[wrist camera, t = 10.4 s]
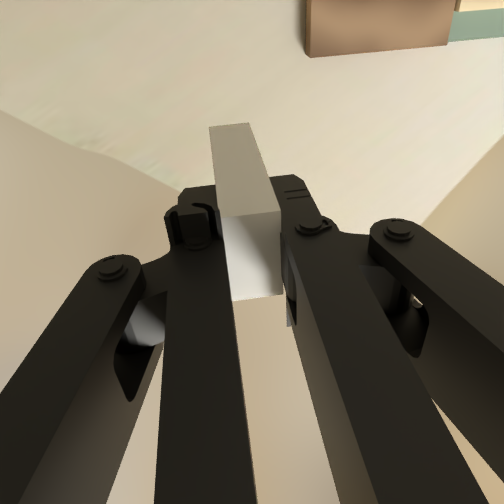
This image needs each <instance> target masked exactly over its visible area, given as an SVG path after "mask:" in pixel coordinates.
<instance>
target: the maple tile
mask: <svg viewBox="0 0 504 504" xmlns="http://www.w3.org/2000/svg"><path fill="white" fill-rule="evenodd" d="M498 8H504V0H456V3H455V8H454V11H457V12H463V11H475V10H486V9H498Z"/></svg>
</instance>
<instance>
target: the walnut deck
mask: <svg viewBox="0 0 504 504" xmlns="http://www.w3.org/2000/svg"><path fill="white" fill-rule="evenodd" d="M455 3H456V0H306V55H307V56H308V57H310V58H315V57H326V56H337V55H347V54H358V53H369V52H379V51H390V50H401V49H411V48H422V47H433V46H443V45H447V43H448V38H449V33H450V28H451V23H452V18H453V13H454V8H455Z"/></svg>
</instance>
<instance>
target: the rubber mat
mask: <svg viewBox="0 0 504 504" xmlns="http://www.w3.org/2000/svg"><path fill="white" fill-rule="evenodd" d="M496 37H504V8H498V9H486V10H475V11H463V12H457V11H454V13H453V18H452V23H451V28H450V33H449V38H448V42H453V41H464V40H474V39H485V38H496Z"/></svg>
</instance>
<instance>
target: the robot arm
mask: <svg viewBox="0 0 504 504" xmlns="http://www.w3.org/2000/svg"><path fill="white" fill-rule="evenodd" d="M209 132H210V141H211V150H212V159H213V167H214V176H215V185H209V186H200V187H192V188H185V189H184V190H183V191H182V193H181V194H180V195H179V196H178V205H175V206H173V207H172V208H171V209H169V210H168V211H167V212H166V214H165V216H164V220H165V225H166V229H167V233H168V238H169V242H170V251H169V252H168V253H167V254H166V255H164V256H162V257H161V258H159V259H156V260H154V261H151V262H148V263H146V264H142V265H141V264H140V262H139V260H138V259H137V258H135V257H133V256H131V255H124V254H122V255H112V256H109V257H106V258H103V259H101V260H99V261H97V262H95V263H94V264H92V265H91V266H90V267H89V268H88V269H87V270H86V271H85V273H84V274H83V276H82V277H81V278H80V280H79V281H78V283H77V284H76V286H75V287H74V289H73V290H72V291H71V293H70V294H69V296H68V297H67V298H66V300H65V301H64V303H63V304H62V306H61V307H60V308H59V310H58V311H57V313H56V314H55V316H54V317H53V319H52V320H51V322H50V323H49V324H48V326H47V327H46V329H45V330H44V331H43V333H42V334H41V336H40V337H39V339H38V340H37V342H36V343H35V344H34V346H33V348H32V349H31V350H30V352H29V353H28V354H27V356H26V357H25V359H24V360H23V362H22V363H21V364H20V366H19V367H18V369H17V370H16V372H15V373H14V375H13V376H12V377H11V379H10V380H9V382H8V383H7V385H6V386H5V388H4V389H3V390H2V392H1V393H0V504H106V502H107V500H108V497H109V494H110V491H111V488H112V486H113V483H114V480H115V478H116V475H117V472H118V469H119V467H120V464H121V461H122V458H123V456H124V453H125V450H126V448H127V445H128V442H129V439H130V437H131V434H132V431H133V428H134V426H135V423H136V420H137V418H138V415H139V412H140V409H141V407H142V404H143V401H144V399H145V396H146V393H147V390H148V388H149V385H150V382H151V380H152V377H153V374H154V371H155V369H156V366H157V363H158V360H159V358H160V355H161V352H162V350H163V344H164V354H163V369H162V385H161V400H160V417H159V431H158V448H157V464H156V478H155V494H154V504H258V501H257V493H256V485H255V478H254V470H253V461H252V454H251V447H250V438H249V431H248V422H247V414H246V406H245V399H244V391H243V383H242V375H241V367H240V359H239V351H238V344H237V336H236V328H235V320H234V313H233V305H232V301H237V300H244V299H251V298H259V297H266V296H273V295H280V294H283V283H284V287H285V290H286V308H287V327H289V326H292V329H293V333H294V336H295V340H296V344H297V347H298V351H299V355H300V358H301V362H302V366H303V369H304V373H305V377H306V380H307V384H308V387H309V391H310V395H311V399H312V402H313V406H314V409H315V413H316V417H317V420H318V424H319V428H320V431H321V435H322V438H323V442H324V446H325V450H326V453H327V457H328V460H329V464H330V468H331V471H332V475H333V478H334V482H335V486H336V490H337V493H338V497H339V501H340V504H489V503H488V501H487V499H486V497H485V496H484V494H483V492H482V490H481V488H480V486H479V485H478V483H477V481H476V479H475V477H474V475H473V474H472V472H471V470H470V468H469V466H468V464H467V463H466V461H465V459H464V457H463V455H462V454H461V452H460V450H459V448H458V446H457V444H456V443H455V441H454V439H453V437H452V435H451V434H450V432H449V430H448V428H447V426H446V424H445V423H444V421H443V419H442V417H441V415H440V414H439V412H438V410H437V408H436V406H435V404H434V402H435V403H436V404H437V405H438V406H439V408H440V409H441V410H442V411H443V412H444V413H445V415H446V416H447V417H448V418H449V419H450V420H451V422H452V423H453V424H454V425H455V426H456V427H457V429H458V430H459V431H460V432H461V433H462V434H463V436H464V437H465V438H466V439H467V440H468V441H469V443H470V444H471V445H472V446H473V447H474V449H475V450H476V451H477V452H478V453H479V454H480V456H481V457H482V458H483V459H484V460H485V461H486V463H487V464H488V465H489V466H490V467H491V468H492V470H493V471H494V472H495V473H496V474H497V475H498V477H499V478H500V479H501V480H502V481H503V483H504V286H503V285H502V284H501V283H499V282H498V281H496V280H495V279H494V278H492V277H491V276H489V275H488V274H487V273H485V272H484V271H483V270H481V269H479V268H478V267H477V266H475V265H474V264H473V263H471V262H470V261H469V260H467V259H466V258H464V257H463V256H462V255H460V254H459V253H458V252H456V251H455V250H453V249H452V248H451V247H449V246H448V245H446V244H445V243H444V242H442V241H441V240H439V239H438V238H437V237H435V236H434V235H433V234H431V233H430V232H428V231H427V230H426V229H424V228H423V227H421V226H420V225H418V224H416V223H414V222H412V221H408V220H404V219H398V218H397V219H396V218H391V219H384V220H380V221H378V222H376V223H374V224H373V225H372V227H371V228H370V234H369V235H365V234H352V233H345V232H341V231H339V229H338V227H337V225H336V224H335V223H334V222H333V221H332V220H331V219H329V218H327V217H325V216H321V214H320V212H319V210H318V208H317V206H316V204H315V202H314V200H313V198H312V197H311V194H310V192H309V191H308V189H307V187H306V185H305V183H304V181H303V180H302V179H300V178H299V177H297V176H295V175H294V174H291V175H283V176H274V177H269V176H268V174H267V171H266V168H265V165H264V163H263V160H262V157H261V154H260V152H259V149H258V146H257V143H256V141H255V138H254V135H253V132H252V130H251V127H250V124H249V123H241V124H232V125H223V126H213V127H209ZM414 296H415V297H416V298H417V299H418V300H419V301H420V302H421V303H422V304H423V305H421V304H420V303H418V302H417V301H416V300H415V299H414ZM431 398H432V399H433V400H434V402H433V401H432V399H431Z"/></svg>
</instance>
